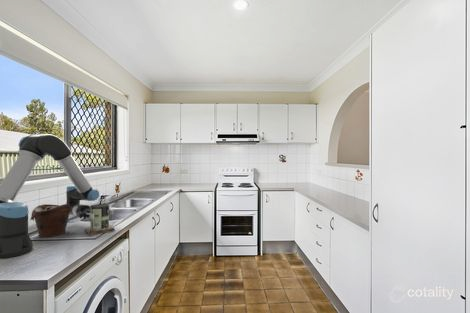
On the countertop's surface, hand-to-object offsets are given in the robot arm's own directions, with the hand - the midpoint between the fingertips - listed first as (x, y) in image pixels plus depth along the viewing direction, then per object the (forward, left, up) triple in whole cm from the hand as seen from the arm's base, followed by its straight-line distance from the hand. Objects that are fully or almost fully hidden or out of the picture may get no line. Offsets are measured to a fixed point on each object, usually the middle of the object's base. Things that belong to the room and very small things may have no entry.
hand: (103, 214), depth 153 cm
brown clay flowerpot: (-24, +15, -11) cm, 31 cm away
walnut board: (-1, +3, -11) cm, 11 cm away
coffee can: (-1, +3, -9) cm, 10 cm away
